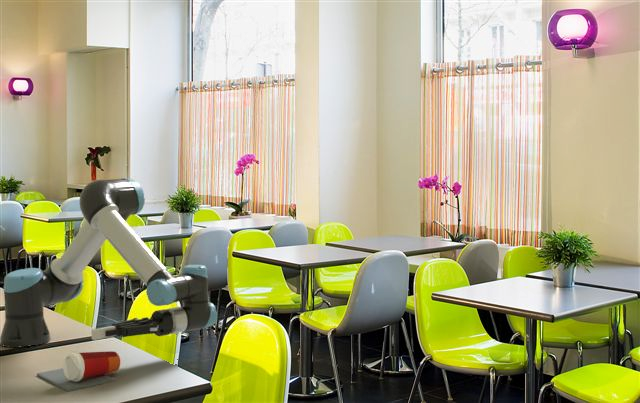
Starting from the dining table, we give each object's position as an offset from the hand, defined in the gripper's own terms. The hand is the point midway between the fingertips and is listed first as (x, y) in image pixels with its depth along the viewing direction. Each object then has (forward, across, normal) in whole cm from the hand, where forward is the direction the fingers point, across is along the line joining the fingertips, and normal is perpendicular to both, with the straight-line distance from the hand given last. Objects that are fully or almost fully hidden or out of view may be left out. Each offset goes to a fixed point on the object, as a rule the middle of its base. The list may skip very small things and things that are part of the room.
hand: (92, 334), depth 212 cm
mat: (+5, 0, -11) cm, 12 cm away
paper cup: (-5, -3, -8) cm, 10 cm away
